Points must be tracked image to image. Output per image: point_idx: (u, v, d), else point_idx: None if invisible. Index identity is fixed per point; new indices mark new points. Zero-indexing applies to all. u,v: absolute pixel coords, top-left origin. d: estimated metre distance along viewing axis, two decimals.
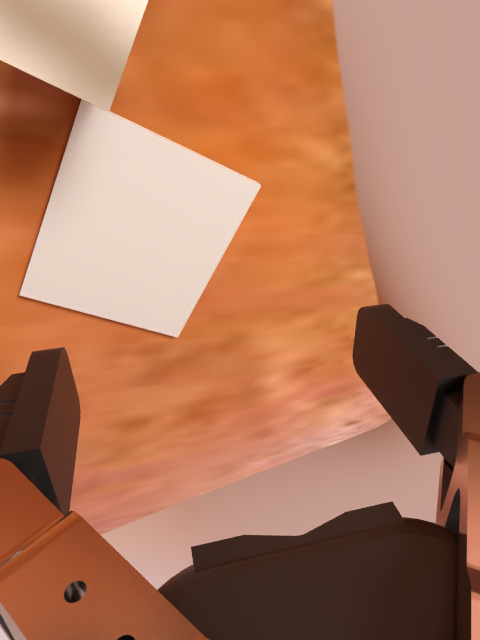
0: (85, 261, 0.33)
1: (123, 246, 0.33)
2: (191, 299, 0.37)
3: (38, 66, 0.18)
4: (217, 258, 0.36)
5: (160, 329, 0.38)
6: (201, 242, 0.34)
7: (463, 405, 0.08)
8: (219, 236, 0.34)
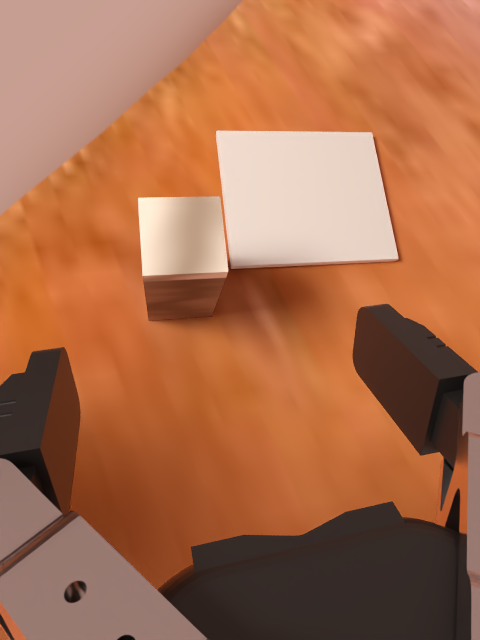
0: (344, 223, 0.40)
1: (317, 202, 0.40)
2: (332, 137, 0.42)
3: (218, 240, 0.27)
4: (287, 134, 0.41)
5: (371, 148, 0.42)
6: (282, 151, 0.41)
7: (463, 405, 0.08)
8: (270, 140, 0.41)
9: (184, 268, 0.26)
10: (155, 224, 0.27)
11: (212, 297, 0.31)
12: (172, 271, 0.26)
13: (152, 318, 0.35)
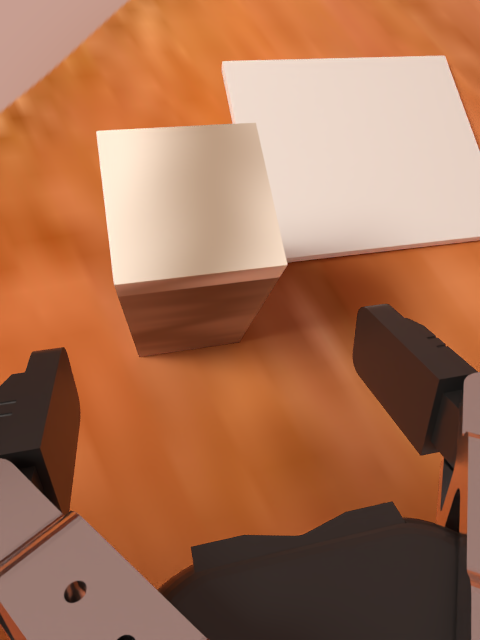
0: (424, 186, 0.26)
1: (381, 158, 0.26)
2: (390, 64, 0.29)
3: (261, 205, 0.14)
4: (326, 62, 0.28)
5: (447, 77, 0.29)
6: (321, 86, 0.27)
7: (463, 405, 0.08)
8: (302, 72, 0.27)
9: (199, 264, 0.13)
10: (134, 180, 0.13)
11: (247, 313, 0.18)
12: (175, 271, 0.13)
13: (144, 353, 0.21)
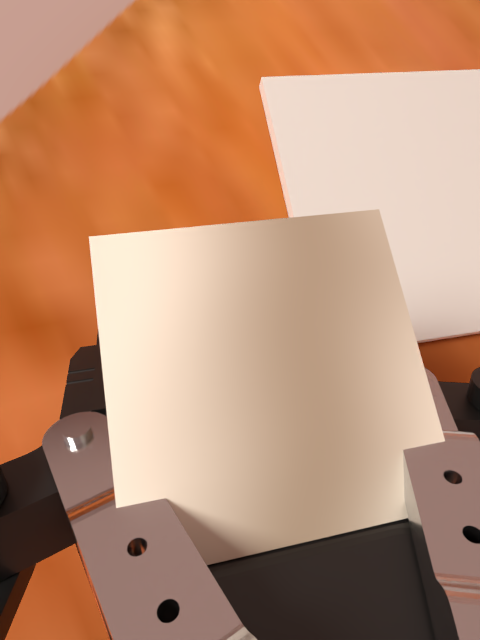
0: None
1: (472, 205, 0.20)
2: (476, 78, 0.22)
3: (402, 376, 0.07)
4: (395, 77, 0.21)
5: None
6: (390, 109, 0.21)
7: None
8: (365, 91, 0.21)
9: (295, 516, 0.06)
10: (162, 337, 0.07)
11: None
12: (249, 540, 0.06)
13: None
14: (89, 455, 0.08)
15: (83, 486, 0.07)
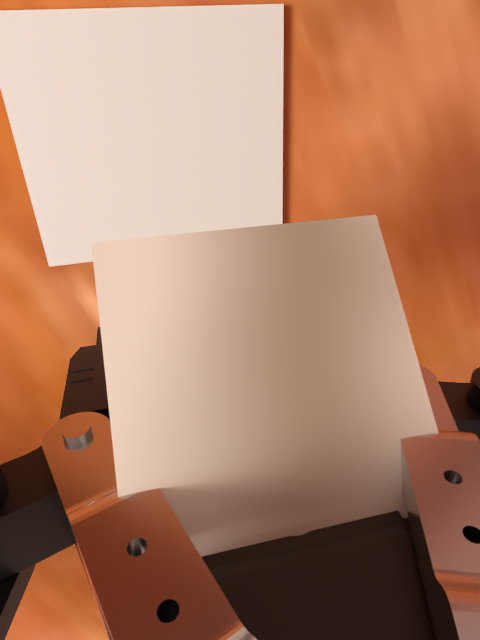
0: (212, 192, 0.28)
1: (173, 159, 0.26)
2: (207, 18, 0.23)
3: (399, 379, 0.07)
4: (122, 14, 0.22)
5: (277, 43, 0.24)
6: (113, 57, 0.23)
7: None
8: (89, 32, 0.22)
9: (294, 517, 0.06)
10: (164, 341, 0.07)
11: None
12: (249, 540, 0.06)
13: None
14: (89, 455, 0.08)
15: (82, 486, 0.07)
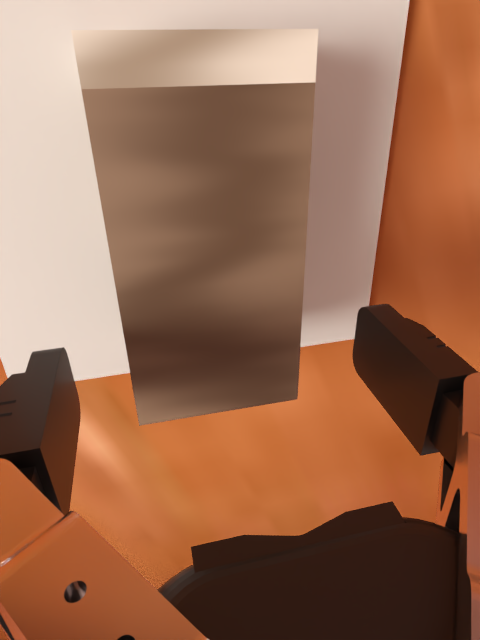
0: None
1: None
2: (284, 3, 0.13)
3: None
4: None
5: (393, 47, 0.15)
6: None
7: (463, 405, 0.08)
8: (77, 23, 0.12)
9: None
10: None
11: (289, 247, 0.12)
12: (160, 30, 0.09)
13: (147, 409, 0.13)
14: None
15: None
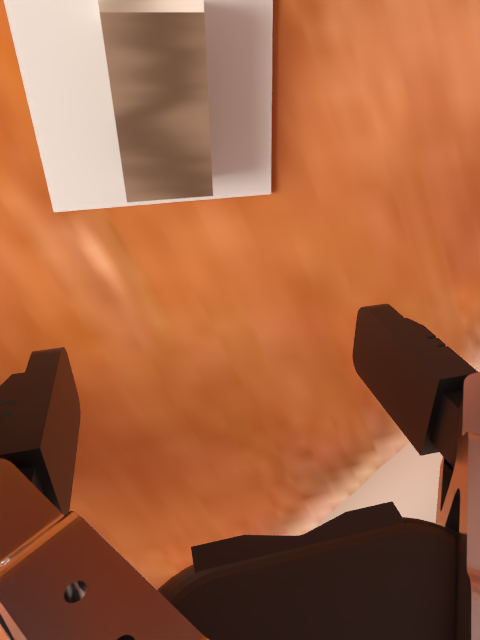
0: None
1: None
2: None
3: None
4: None
5: (266, 5, 0.27)
6: None
7: (463, 405, 0.08)
8: None
9: None
10: None
11: (200, 98, 0.24)
12: None
13: (131, 192, 0.25)
14: None
15: None
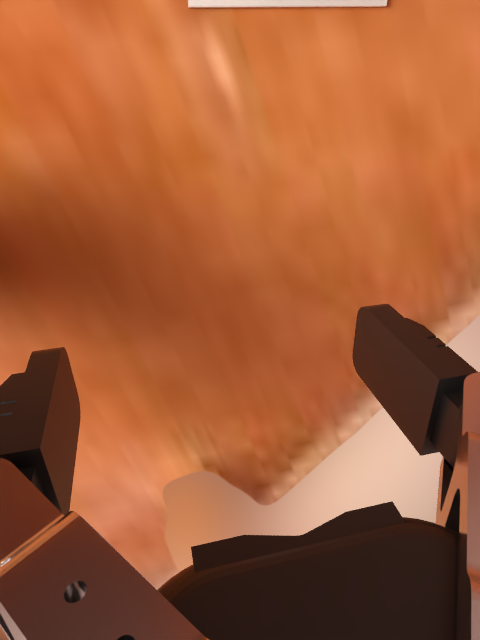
0: None
1: None
2: None
3: None
4: None
5: None
6: None
7: (463, 405, 0.08)
8: None
9: None
10: None
11: None
12: None
13: None
14: None
15: None
